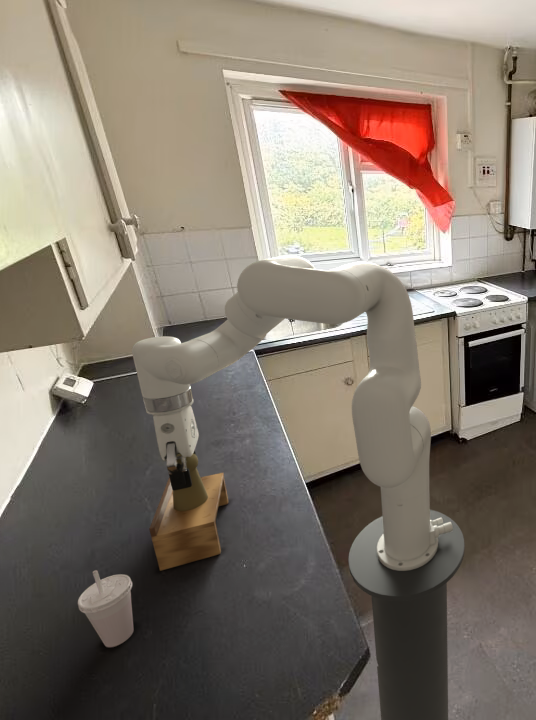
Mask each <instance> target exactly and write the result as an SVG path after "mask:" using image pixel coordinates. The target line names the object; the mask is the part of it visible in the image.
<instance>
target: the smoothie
mask: <svg viewBox="0 0 536 720" xmlns="http://www.w3.org/2000/svg"><path fill="white" fill-rule="evenodd" d="M92 576H93V579H94V581H95V582H94V583H93V584H91V585H90V586H88V587H87V588H86V589H85V590H84V591H83V592H82V593H81V594H80V596H79V597H78V600H77V606H78V610H79V611H80V612H81V613H83V614H84V615H85V616H86V618H87V619H88V621H89V622H90V625H91V626H92V627H93V629H94V630H95V632H96V633H97V635H98V637H99V638H100V640H101V642H102V643H103V645H104V646H105V647H106V648H114V647H117V646H119V645H121V644H123V643H124V642H126V641H127V640H128V639H129V638H130V637H131V636H132V635H133V633H134V631H135V630H134V616H133V605H132V592H131V590H132V588H133V581H132V579H131V577H130V576H129V575H128V574H123V573H122V574H121V573H119V574H113V575H110V576H107V577H103V578H102V579H101V578H100V574H99V571H98V569H95V570H93V571H92Z"/></svg>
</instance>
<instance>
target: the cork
mask: <svg viewBox="0 0 536 720" xmlns="http://www.w3.org/2000/svg"><path fill="white" fill-rule="evenodd" d="M177 456H182V455H181V454H177V455H176V457H177ZM176 461H177V464H179V463H180V464H181V465H182V462H181V459H179V460H176ZM197 465H199V459H198V456H197V454H196V455H195V454H194V453H193V454H192V456H190V457H188V456H187V457H186V466H187V469H188V468H189V471H190V476H191V481H192V486H191V487H189V488H184V489H179V490H175V491H174V490H173V505H174V509H175V510H177V511H187V510H191V509H194V508H196V507H198V506H200V505H202V504H203V503H205V501H206V500H207V499H208V495H207V492H206V490H205V487H204V485H203V482H202V480H201V477H202V476H200V472H199V470H198V468H197V467H198V466H197ZM166 470H167V471H168V468H167V467H166Z"/></svg>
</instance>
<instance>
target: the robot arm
mask: <svg viewBox="0 0 536 720" xmlns="http://www.w3.org/2000/svg"><path fill="white" fill-rule="evenodd" d="M236 290H237V292H236V293H234V294H233V295H232V296H231V297H230V298H228V299H227V301H225V304H224V313H225V314H224V315H225V317H226V320H225V321H224V322H223V323H221V324H220V325H219V326H218V327H216V328H215V329H214V330H212V331H210V332H208V333H205V334H203V335H200V336H197V337H195V338H192V339H189V340H188V341H184V342H181V340H180V339H179V338H178V337H174V336H165V335H163V336H153V337H149V338H144V339H141V340H138V341H137V342H135V343H134V344H133V345H132V346H131V354H132V358H133V362H134V367H135V372H136V374H137V375H136V376H137V379H138V383H139V384H138V385H139V388H140V392H141V396H142V401H143V404H144V409H145V412H146V414H148V415H150V416H152V418H153V419H152V420H153V426H154V431H155V437H156V443H157V447H158V451H159V455H160V459H161V460H162V461H164V462H166V469H167V468H168V470H167V471H168V472H167V474H168V478H169V477H170V482H171V486H172V490H174V491H175V490H179V489H184V488H189V487H191V486H192V481H191V476H190V471H189V468H188V469H187V466H186V457H187V456H188V457H190V456H192V454H193V453H194V454H195V455H196V456H197V453H196V447H197V444H198V442H199V441H198V440H199V437H200V435H199V434H200V433H199V430H198V425H197V421H196V418H195V414H194V411H193V407H192V405H194V398H193V392H192V388H191V385H194V384H197V383H199V382H201V381H203V380H206V379H207V378H209V377H211V376H212V375H214V374H216V373H218V372H220V371H222V370H223V369H226V368H228V367H230V366H232V365H233V364H235V363H236V362H237V361H239V360H240V359H242V358H243V357H244V356H246V355H247V354H248V353H249V352H251V351H252V350H253V349H254V348H255V347H257V346H258V345H259V344H260V343H261V342H262V341H263V339H265V338H266V337H267V334H268V333H269V332H271V331H272V330H274V329H275V328H276V327H277V326H278V325H279V324H280V323H282V322H283V321H284V320H292V321H301V322H307V323H308V322H309V323H316V324H325V325H339V324H340V325H341V324H345V323H349V322H350V321H353V320H355V319H356V318H358V317H359V316H361V315H362V314H364V313H365V314H366V318H367V323H366V324H367V325H366V345H367V349H368V356H369V357H368V358H369V370H368V373H367V374H366V375H365V376H364V377H363V379H362V380H361V381H360V382H359V383H358V385H357V386H356V387H355V389H354V392H353V395H352V400H351V417H352V424H353V431H354V436H355V443H356V450H357V454H358V455H357V456H358V460H359V464H360V467H361V470H362V472H363V474H364V475H365V477H366V478H367V479H368V480H369V481H370V482H371V483H372V484H374V485H376V486H377V487H380V498H381V499H380V500H381V513H382V515H381V516H383V531H384V534H383V535H382V536H381V538H380V539H379V541H378V544H377V555H378V558H379V560H380V562H381V563H382V564H383V565H384V566H386V567H387V568H390V569H392V570H397V571H407V570H413V569H416V568H419V567H421V566H423V565H424V564H426V563H427V562H429V561H430V560H431V559H432V558H433V556H434V555H435V553H436V551H437V548H438V537H439V535H440V534H443V533H444V534H445V533H448V532H451V531H453V527H452V524H451V522H448V523H445V524H443V519H442V518H438V519H436V520H433V521H432V520H430V510H431V505H430V504H431V503H430V502H431V499H430V498H431V495H430V456H431V455H430V454H431V441H432V431H431V424H430V421H429V419H428V417H427V415H426V414H425V413H424V412H423V411H422V410H421V409H420V408H418V407H416V406H414V404H415V402H416V401H417V399H418V398H419V395H420V392H421V389H422V378H421V371H420V370H421V369H420V363H419V353H418V345H417V340H416V338H417V337H416V330H415V322H414V321H415V320H414V312H413V306H412V301H411V299H410V295H409V292H408V290H407V288H406V287H405V285H404V284H403V282H402V281H401V280H400V278H399V277H398V276H396V274H394V273H393V272H392V271H391V270H389V269H387V268H386V267H384V266H382V265H379V264H376V263H375V262H374V263H373V262H368V261H357V262H352V263H347V264H343V265H341V266H339V267H335V268H332V269H329V270H328V269H327V270H326V269H317V268H316V267H315V266H314V265H313V264H312V263H311V262H310V261H309V260H307V259H306V258H304V257H301V256H297V255H291V254H290V255H280V256H276V257H271V258H265V259H261V260H257V261H254V262H252V263H250V264H249V265H246V267H244V269H243V270H242V271H241V273H240V274H239V276H238V279H237V284H236ZM177 454H181V455H182V456H177V457H176V455H177ZM179 459H181V462H182V465H181V464H180V463H179V464H177V461H176V460H179ZM198 465H199V464H198ZM198 465H197V467H198ZM441 524H442V525H441ZM438 525H441V526H438Z"/></svg>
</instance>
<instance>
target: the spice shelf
mask: <svg viewBox="0 0 536 720" xmlns="http://www.w3.org/2000/svg"><path fill="white" fill-rule="evenodd" d="M200 477H201V480H202V482H203V485H204V487H205V490H206V492H207V495H208V499H207V500H206V501H205V503H203V504H202V505H200V506H198V507H196V508H194V509H191V510H187V511H177V510H175V509H174V505H173V490H172V486H171V482H170V477H169V476H168V479H167V480H166V484H165V487H164V490H163V492H162V495H161V497H160V500H159V502H158V505H157V508H156V510H155V512H154V515H153V517H152V520H151V523H150V526H149V534H150V538H151V541H152V545H153V548H154V553H155V556H156V561H157V565H158V568H159V571H160V572H162V571H164V570H168V569H173V568H175V567H179V566H183V565H186V564H190V563H193V562H196V561H200V560H204V559H208V558H210V557H214V556H217V555H221V552H222V547H221V542H220V538H219V533H218V532H219V531H218V528H217V523H216V520H217V515H218V509H219V507H221V506H225V505H228V504H229V495H228V491H227V484H226V480H225V476H224V472H219V473H215V474H214V473H213V474H210V475H209V474H208V475H205V476H200Z"/></svg>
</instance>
